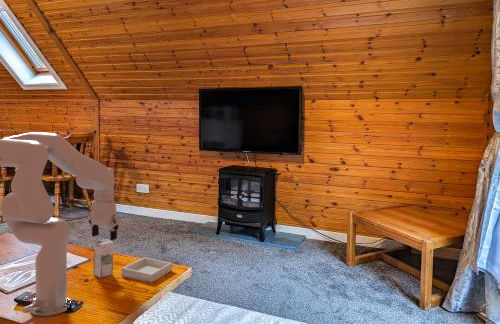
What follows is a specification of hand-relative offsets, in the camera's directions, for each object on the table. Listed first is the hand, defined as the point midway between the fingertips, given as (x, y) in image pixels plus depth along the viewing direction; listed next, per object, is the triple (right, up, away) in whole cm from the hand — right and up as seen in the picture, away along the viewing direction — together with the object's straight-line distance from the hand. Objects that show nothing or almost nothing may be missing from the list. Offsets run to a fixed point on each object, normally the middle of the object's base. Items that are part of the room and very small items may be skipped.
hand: (104, 237), depth 162 cm
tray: (+17, -16, +5) cm, 24 cm away
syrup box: (-1, -16, +1) cm, 16 cm away
